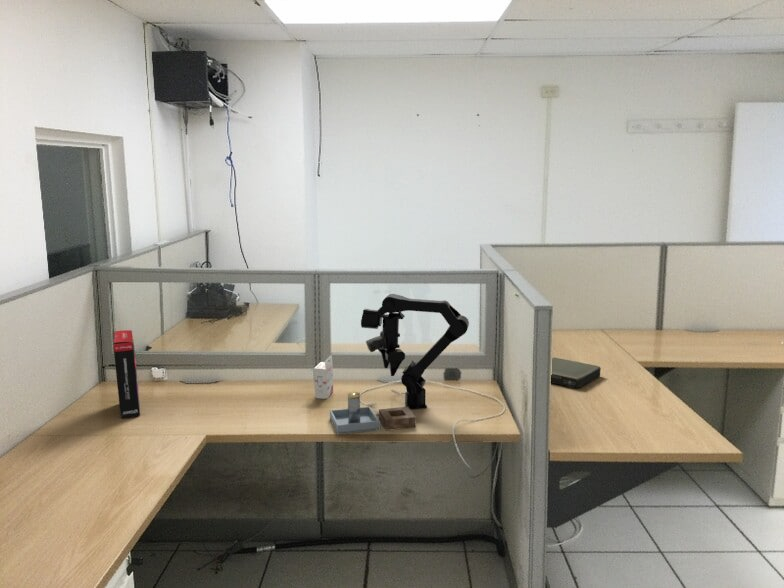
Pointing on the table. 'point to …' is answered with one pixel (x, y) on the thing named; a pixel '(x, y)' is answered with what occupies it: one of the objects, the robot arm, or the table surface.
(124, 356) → the graphics card box
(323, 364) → the ink cartridge box
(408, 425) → the hitch block
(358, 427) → the tray
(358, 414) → the steel pin
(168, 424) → the table surface
